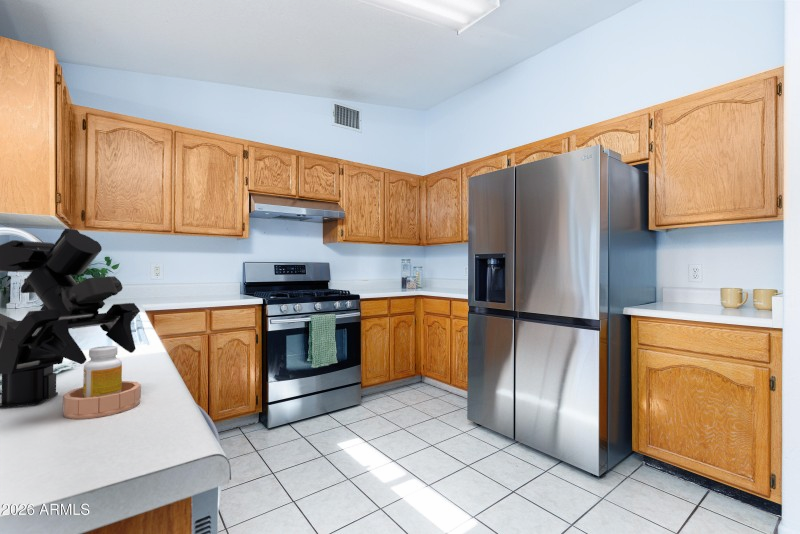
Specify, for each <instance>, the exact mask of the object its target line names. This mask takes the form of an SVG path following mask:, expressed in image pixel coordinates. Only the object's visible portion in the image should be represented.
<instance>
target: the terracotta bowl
mask: <svg viewBox="0 0 800 534" xmlns="http://www.w3.org/2000/svg"><path fill="white" fill-rule="evenodd" d="M141 398H142V384H141V383H139V382H138V381H131V380H129V381H128V380H122V392H120V393H117V394H111V395H106V396H101V397H89V398H83V386H81V387H77V388H74V389H71V390H69V391H67V392H66V393H63V394H62V411H63V417H65V418H66V419H71V420H85V419H86V420H87V419H88V420H89V419H95V418H102V417H103V418H104V417H107V416H112V415H115V414H121V413H123V412H126V411H128V410H132V409H134V408H135V407H137V406H139V404H140V403H141V402H140V401H141V400H140V399H141Z"/></svg>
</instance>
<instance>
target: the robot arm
mask: <svg viewBox="0 0 800 534" xmlns="http://www.w3.org/2000/svg"><path fill="white" fill-rule="evenodd" d="M102 248H103V247H102V245H101V244H100V243H99V241H97V240H95V239H93V238H91V237H90V236H88V235H86V234H83V233H80V231H79V230H78V229H75V228H73V229H72V228H64V230H63V231H62V232H61V233H60V236H59V237H58V239H57V240H56V241H55V242H54V243H53V242H45V241H44V242H43V241H42V242H41V241H34V240H33V241H31V240H19V239H17V240H16V239H12V240H9V241H6V242H4V243H2V244H0V273H5V272H13V273H19V272H20V273H21V272H23V273H29V275H28V276H27V277H25V278H24V279H23V281H24V282H23V284H22V285H21V287H20V293H22V294H30V293H31V294H33V293H35V295H36V296H37V297H38V298H39V300H40V301H41V302H42V303H43V306H42V307H41V308H40V310H31V311H30V310H29V311H28V312H27V313H26V314H25V316H24V317H23V318H22V319H21V320H17V319H14V318H12V317H10V316H7V315H5V314H3V313H0V374H1V402H0V409H3V408H12V407H13V408H16V407H28V406H29V407H30V406H37V405H40V404H43V403H45V402H47V401H48V400H50V399H53V398H54V397H56V396H58V395H59V392H58V391H57V373H56V372H54V366H55V365H60V364H63V361H64V359H67V360H69V361H71V362H74V363H77V364H79V365H83V364H84V365H85V363H86V362H87V357H86V354H85V353H84V352H83V350H82V348H81V347H80V346H79V345H78V343H77V342H76V341H75V339H74V338H73V336H72V335H71V334H70V333H71V332H70V330H71V329H72V330H73V329H74V330H75V329H83V328H89V327H96V326H100V328H101V330H102V331H103V332H106V334H105V336H106V337H107V338H109V339H110V340H112V341H113V342H114V343H115V344H117V345H118V346H119V347H121V348H122V349H124V350H125V351H126V352H128V353H131V354H132V353H134V352H135V350H136V345H135V340H134V336H133V332H132V322H133V321H134V319H135V318H136V317H137V316H138V314H139V313H140V312H141V311H140V309H139V307H138V306H137V305H136V303H135V302H125V303H114V304H112V305H111V306H110V308H109V309H107V311H106V312H102V313H99V309H103V307H104V306H105V305H106V303H105V302H104V301H105V300H107V299H109V298H111V297H112V296H117V295H118V293H120V292H122V291H123V284H122V283H121V281H120V280H119V279H118V278H117V277H116V276H109V275H108V276H103V277H102V276H100V277H98V276H97V277H95V276H93V277H88V278H86V279H83V280H82V281H80V282H79V283H77V281H76V280H75V279H74V278H73V276H79V275H82V274H83V273H84V272H85V271H86V270H87V269H88V267H89V266H90V265H91V264H92V262H94V260H95V259H96V258H97V256H99V254H100V253H101V251H102Z"/></svg>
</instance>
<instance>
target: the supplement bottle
mask: <svg viewBox="0 0 800 534" xmlns="http://www.w3.org/2000/svg"><path fill="white" fill-rule="evenodd" d="M117 355H118V346H116V345H106V346H96V347H92V348H89V350H88V356H89V357H88V358H90V359H89V361H85V363H84V365H83V380H82V381H83V386H82V387H83V398H89V397H101V396H106V395H111V394H117V393H120V392H122V381H123V377H122V375H123V361H122V359H120V358H118V357H116V356H117Z"/></svg>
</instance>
